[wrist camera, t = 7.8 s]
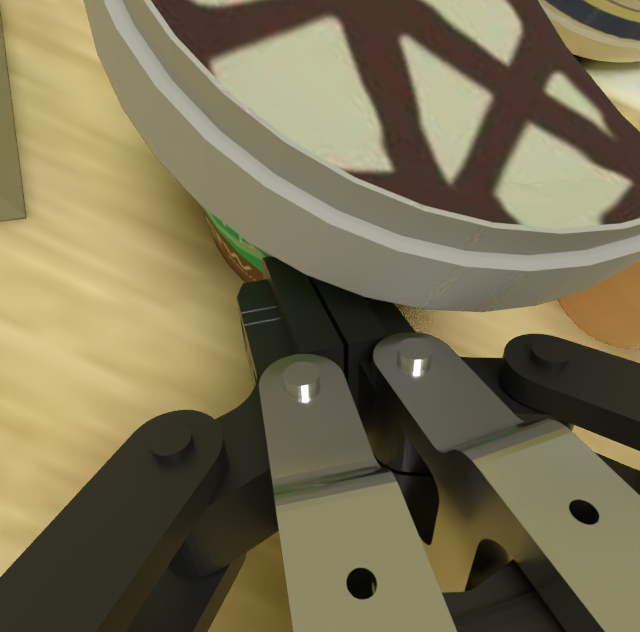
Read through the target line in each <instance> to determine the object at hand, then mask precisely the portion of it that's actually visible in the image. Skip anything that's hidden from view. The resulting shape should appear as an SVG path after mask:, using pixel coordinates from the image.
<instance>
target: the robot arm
mask: <svg viewBox="0 0 640 632" xmlns="http://www.w3.org/2000/svg"><path fill="white" fill-rule="evenodd" d="M262 271H263V279H264V280H259V281H253V282H247V283H243V285H242V287H241V289H240V292H239V294H238V296H237V301H238V307H239V313H240V319H241V325H242V331H243V337H244V343H245V350H246V354H247V358H248V363H249V367H250V371H251V375H252V379H253V383H254V387H255V388H254V390H253V392H252V393H251V395H250V396H249V397H248V399H247V400H245V401H244V402H243V403H242V404H241V405H240V406H238V407H237V408H236V409H234V410H232V411H231V412H229V413H227V414H225V415H223V416H221V417H219V418H217V419H215V420H214V419H213V418H212V417H210V416H209V415H207V414H205V413H202V412H199V411H194V410H178V411H173V412H168V413H165V414H162V415H160V416H157V417H155V418H153V419H151V420H149V421H148V422H146V423H145V424H143V425H142V426H141V427H139V428H138V429H137V430H136V431H135V432H134V433H133V434H132V435H131V436H130V437H129V438H128V440H127V441H126V442H125V443H124V444H123V445H122V446H121V447H120V448H119V449H118V450H117V451H116V453H115V454H114V455H113V456H112V457H111V458H110V459H109V460H108V461H107V462H106V463H105V465H104V466H103V467H102V468H101V469H100V470H99V471H98V472H97V473H96V474H95V475H94V476H93V478H92V479H91V480H90V481H89V482H88V483H87V484H86V485H85V486H84V487H83V488H82V489H81V491H80V492H79V493H78V494H77V495H76V496H75V497H74V498H73V499H72V500H71V501H70V502H69V504H68V505H67V506H66V507H65V508H64V509H63V510H62V511H61V512H60V513H59V514H58V515H57V517H56V518H55V519H54V520H53V521H52V522H51V523H50V524H49V525H48V526H47V527H46V528H45V530H44V531H43V532H42V533H41V534H40V535H39V536H38V537H37V538H36V539H35V540H34V541H33V543H32V544H31V545H30V546H29V547H28V548H27V549H26V550H25V551H24V552H23V553H22V554H21V556H20V557H19V558H18V559H17V560H16V561H15V562H14V563H13V564H12V565H11V566H10V567H9V569H8V570H7V571H6V572H5V573H4V574H3V575H2V576H1V577H0V632H207V631H208V629H209V627H210V626H211V624H212V622H213V620H214V618H215V616H216V614H217V612H218V610H219V609H220V607H221V605H222V603H223V601H224V599H225V597H226V595H227V593H228V592H229V590H230V588H231V586H232V584H233V582H234V580H235V578H236V576H237V575H238V573H239V571H240V569H241V567H242V565H243V563H244V560H245V557H246V553H247V551H249V550H250V549H252V548H253V547H255V546H256V545H258V544H259V543H261V542H262V541H264V540H265V539H267V538H268V537H270V536H271V535H273V534H274V533H276V532H277V531H279V535H280V542H281V549H282V556H283V563H284V570H285V577H286V584H287V591H288V598H289V606H290V613H291V620H292V627H293V632H640V471H639V470H636V469H633V468H631V467H628V466H626V465H624V464H621V463H619V462H617V461H614V460H612V459H609V458H607V457H605V456H602V455H600V454H597V453H595V452H593V451H592V450H591V449H590V448H589V447H588V446H587V445H586V444H585V443H584V442H583V441H582V440H581V439H579V438H578V437H577V436H576V435H575V434H574V433H573V432H572V429H573V427H574V425H576V426H579V427H581V428H584V429H586V430H589V431H591V432H594V433H596V434H599V435H601V436H604V437H606V438H609V439H611V440H614V441H616V442H619V443H621V444H624V445H626V446H629V447H631V448H634V449H636V450H639V451H640V363H637V362H633V361H630V360H627V359H624V358H621V357H618V356H615V355H612V354H608V353H605V352H602V351H599V350H596V349H593V348H590V347H586V346H583V345H580V344H577V343H574V342H571V341H568V340H565V339H561V338H558V337H554V336H550V335H544V334H526V335H521V336H518V337H516V338H513V339H512V340H511V341H509V342H508V343H507V345H506V347H505V350H504V354H503V358H469V357H459V356H458V355H457V354H456V353H455V352H454V351H453V350H452V349H451V348H450V347H449V346H448V345H447V344H446V343H445V342H443V341H442V340H440V339H438V338H436V337H434V336H431V335H428V334H423V333H417V332H415V331H414V329H413V328H412V327H411V325H410V324H409V323H408V322H407V320H406V319H405V318H404V316H403V315H402V314H401V312H400V311H399V310H398V308H397V307H396V306H395V304H394V303H392V302H387V301H382V300H377V299H373V298H368V297H364V296H361V295H359V294H356V293H353V292H351V291H348V290H345V289H343V288H340V287H337V286H335V285H332V284H329V283H327V282H324V281H321V280H319V279H316V278H314V277H311V276H308V275H306V274H304V273H302V272H300V271H299V270H297V269H295V268H293V267H292V266H290V265H288V264H286V263H284V262H283V261H281V260H279V259H277V258H275V257H272V256H270V257H263V258H262Z"/></svg>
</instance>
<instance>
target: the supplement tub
mask: <svg viewBox="0 0 640 632" xmlns="http://www.w3.org/2000/svg"><path fill="white" fill-rule="evenodd" d="M538 1H539V3H540V5H541V6H542V8H543V10H544V11H545V13H546V14H547V16H548V18H549V19H550V21H551V23H552V24H553V26H554V27H555V29H556V31H557V32H558V34H559V36H560V37H561V39H562V41H563V42H564V44H565V45H566V47H567V48H568V49H569V50H570V52H571V53H572V54H574V55H577V56H580V57H584V58H589V59H593V60H598V61H606V62H635V61H640V0H538Z"/></svg>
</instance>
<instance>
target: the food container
mask: <svg viewBox="0 0 640 632" xmlns="http://www.w3.org/2000/svg"><path fill="white" fill-rule="evenodd" d="M84 4H85V8H86V11H87V15H88V19H89V23H90V27H91V31H92V35H93V39H94V43H95V46H96V50H97V54H98V56H99V59H100V61H101V63H102V65H103V67H104V70H105V72H106V74H107V76H108V78H109V80H110V83H111V85H112V87H113V89H114V91H115V94H116V96H117V98H118V100H119V102H120V104H121V107H122V108H123V110H124V111H125V113H126V114H127V116H128V117H129V119H130V120H131V122H132V123H133V124H134V126H135V127H136V129H137V130H138V132H139V133H140V135H141V136H142V138H143V139H144V141H145V142H146V144H147V145H148V147H149V148H150V149H151V151H152V152H153V154H154V155H155V157H156V158H157V159H158V160H159V161H160V162H161V164H162V165H163V166H164V167H165V168H166V169H167V170H168V171H169V172H170V173H171V174H172V175H173V176H174V177H175V178H176V179H177V180H178V182H179V183H180V184H181V185H182V186H183V187H184V188H185V189H186V190H187V191H188V192H189V193H190V194H191V195H192V196H193V197H194V198H195V200H196V201H197V202H198V203H199V204H200V206H201V209H202V211H203V214H204V216H205V219H206V221H207V224H208V226H209V229H210V231H211V233H212V236H213V238H214V241H215V243H216V246H217V248H218V249H219V251H220V252H221V254H222V255H223V257H224V258H225V260H226V261H227V263H228V264H229V266H230V267H231V268H232V269H233V270H234V271H235V272H236V273H237V274H238V275H239V276H240V277H241V278H242V279H243V280H244V281H245V282H246V283H247V282H253V281H259V280H264V279H263V271H262V258H263V257H270V256H272V257H275V258H277V259H279V260H281V261H283V262H284V263H286V264H288V265H290V266H292V267H293V268H295V269H297V270H299V271H300V272H302V273H304V274H306V275H308V276H311V277H314V278H316V279H319V280H321V281H324V282H327V283H329V284H332V285H335V286H337V287H340V288H343V289H345V290H348V291H351V292H353V293H356V294H359V295H361V296H364V297H368V298H373V299H377V300H382V301H387V302H392V303H394V304H395V306H396V307H397V308H400V307H403V306H411V307H416V308H420V309H428V310H450V311H471V312H486V311H494V310H503V309H511V308H519V307H527V306H536V305H539V304H542V303H545V302H549V301H552V300H555V299H558V298H562V297H565V296H568V295H572V294H575V293H578V292H581V291H584V290H586V289H588V288H590V287H592V286H594V285H596V284H598V283H600V282H602V281H604V280H605V279H607V278H609V277H611V276H613V275H615V274H617V273H619V272H621V271H623V270H625V269H626V268H628V267H629V266H631V265H633V264H634V263H636V262H637V261H639V260H640V132H639V131H638V130H637V129H636V128H635V127H634V126H633V125H632V124H631V123H630V122H629V121H628V120H627V119H626V118H625V117H623V116H622V115H621V114H620V112H619V111H618V110H617V109H616V107H615V106H614V105H613V104H612V102H611V101H610V100H609V99H608V98H607V96H606V95H605V94H604V93H603V91H602V90H601V89H600V88H599V86H598V85H597V84H596V83H595V81H594V80H593V79H592V78H591V76H590V75H589V74H588V73H587V71H586V70H585V69H584V68H583V67H582V65H581V64H580V63H579V62H578V60H577V59H576V58H575V57H574V55H573V54H572V53H571V52H570V50H569V49H568V48H567V47H566V45H565V44H564V42H563V41H562V39H561V37H560V36H559V34H558V32H557V31H556V29H555V27H554V26H553V24H552V23H551V21H550V19H549V18H548V16H547V14H546V13H545V11H544V10H543V8H542V6H541V5H540V3H539V1H538V0H84Z"/></svg>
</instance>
